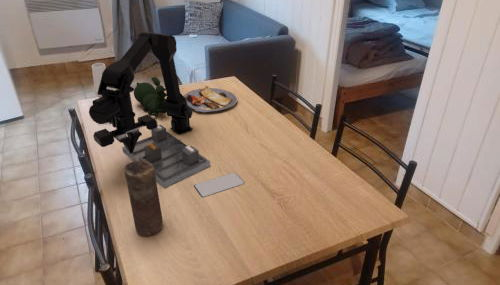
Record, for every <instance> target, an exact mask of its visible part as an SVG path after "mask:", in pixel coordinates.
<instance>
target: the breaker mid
mask: <svg viewBox="0 0 500 285" xmlns="http://www.w3.org/2000/svg"><path fill="white" fill-rule="evenodd" d="M144 152H145V158H146V159H147V160H148V161H150V162H151V163H152V162H154V161H157V160H159V159H161V158H162V155H161V148H160V147H159V146H158V145H157V144H155V143H149V144H148V145H147V146H145V147H144Z"/></svg>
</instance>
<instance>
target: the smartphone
mask: <svg viewBox="0 0 500 285" xmlns="http://www.w3.org/2000/svg"><path fill="white" fill-rule="evenodd" d="M242 185H245V181H244V180H243V179H242V177H240V176H239V174H238V173H237V172H231V173H228V174H224V175H222V176H221V175H220V176H218V177H215V178H212V179H209V180H206V181H202V182H198V183H196V184H194V185H193V186H194V189H195V190H196V191H197V193H198V194H199V196H200V197H201V198H206V197H210V196H213V195H216V194H217V193H222V192H224V191H227V190H231V189H234V188H236V187H239V186H242Z"/></svg>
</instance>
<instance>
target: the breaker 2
mask: <svg viewBox="0 0 500 285" xmlns="http://www.w3.org/2000/svg"><path fill="white" fill-rule="evenodd" d="M199 154H200V153H199V149H197V148H196V147H194V146H193V145H187V147H185V149H183V150H182V160H183V162H184V163H186V164H187V165H188V166H191V165H193V164H195V163H197V162H199Z"/></svg>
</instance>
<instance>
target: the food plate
mask: <svg viewBox="0 0 500 285" xmlns="http://www.w3.org/2000/svg"><path fill="white" fill-rule="evenodd" d="M183 96H184V97H185V99H186V101H187V104H188V106H189V107H190V108H191V109H192V110H193V111H195V112H201V113H207V112H208V113H209V112H218V111H222V110H226V109H229V108H231V107H234V106H235V104H236V103H237V102H238V97H237V96H236V94H234V93H233V92H230V91H228V90H225V89H221V88H212V87H209V86H204V87H203V88H198V89H194V90H193V89H192V90H191V91H188V92H187V93H185V94H184V95H183Z"/></svg>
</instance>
